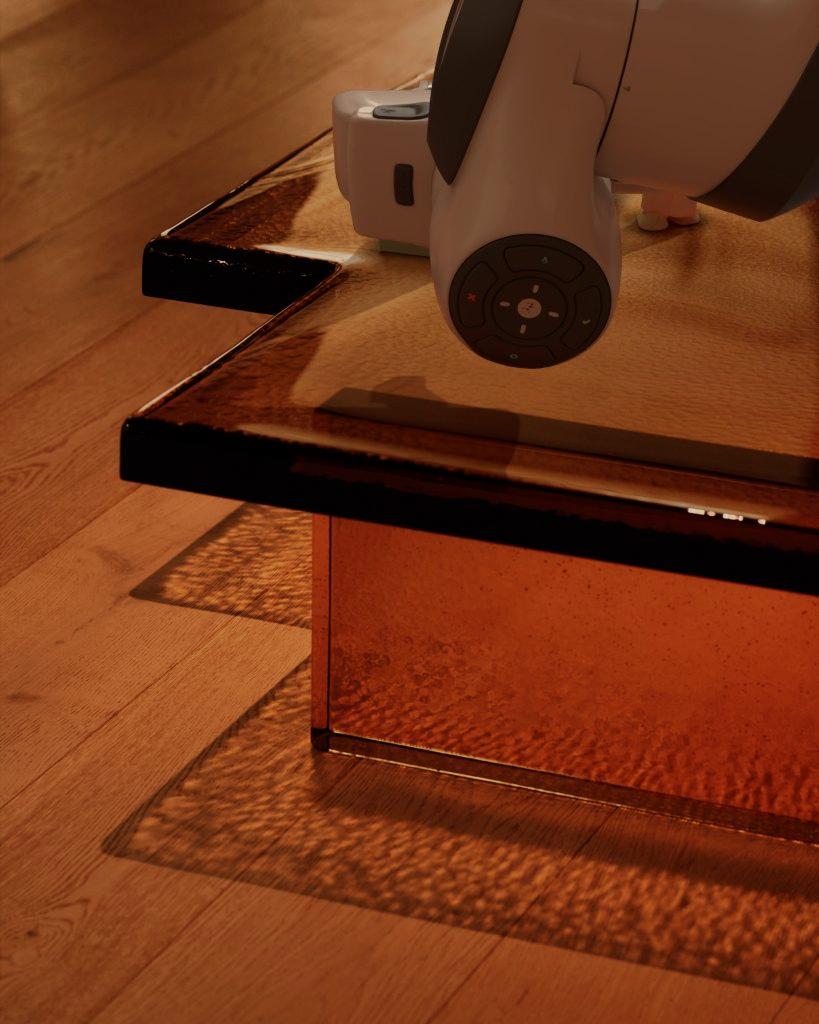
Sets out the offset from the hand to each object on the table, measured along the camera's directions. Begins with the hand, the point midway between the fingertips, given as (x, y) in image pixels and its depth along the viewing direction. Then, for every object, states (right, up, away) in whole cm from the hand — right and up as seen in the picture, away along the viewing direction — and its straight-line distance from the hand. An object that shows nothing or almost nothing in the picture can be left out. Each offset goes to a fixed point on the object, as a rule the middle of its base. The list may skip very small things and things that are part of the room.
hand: (513, 92), depth 93 cm
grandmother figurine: (+12, -5, +16) cm, 21 cm away
